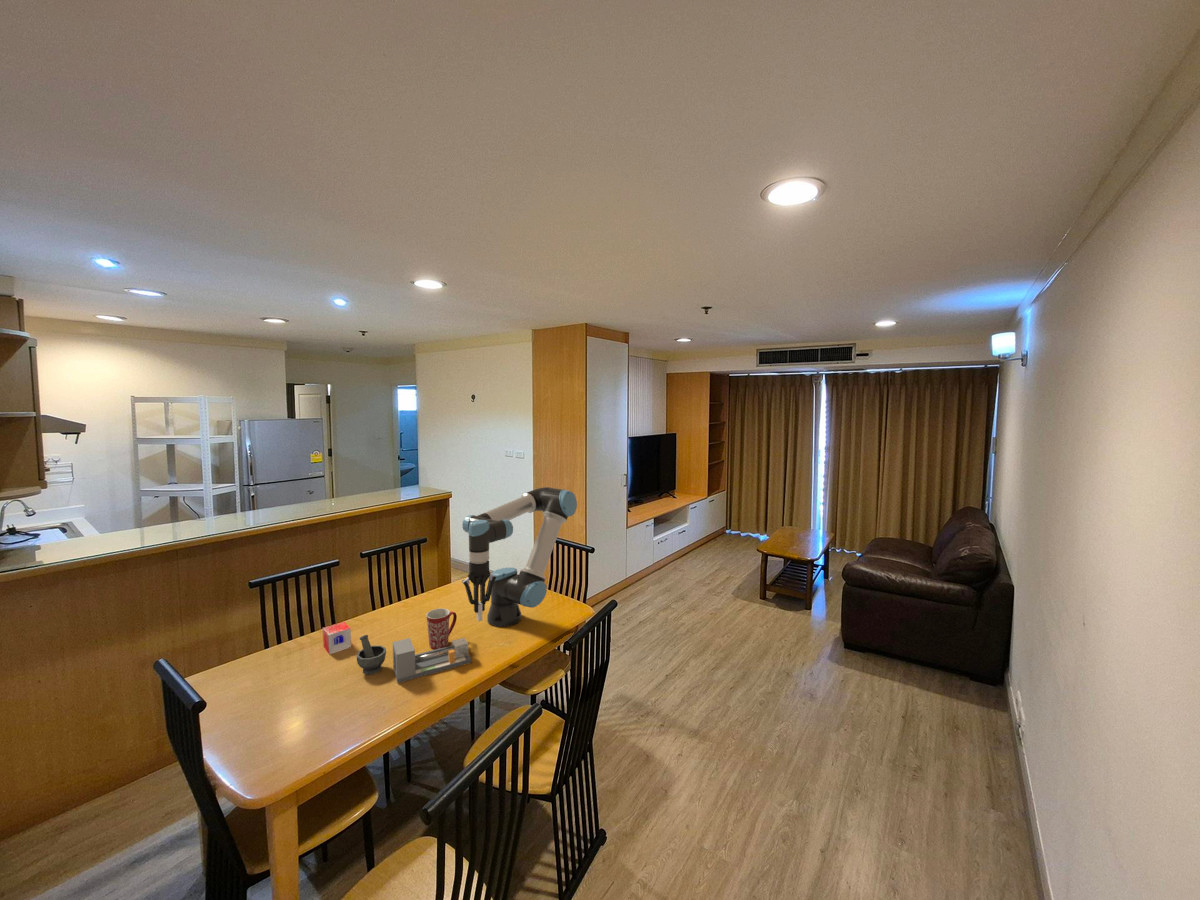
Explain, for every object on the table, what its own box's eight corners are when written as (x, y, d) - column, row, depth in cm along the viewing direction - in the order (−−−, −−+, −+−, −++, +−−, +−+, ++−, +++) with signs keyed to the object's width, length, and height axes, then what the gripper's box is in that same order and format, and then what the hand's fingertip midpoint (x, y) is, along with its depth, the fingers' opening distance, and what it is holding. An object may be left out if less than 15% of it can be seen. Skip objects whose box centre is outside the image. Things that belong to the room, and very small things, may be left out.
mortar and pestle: (391, 668, 173) (390, 637, 172) (366, 680, 166) (365, 648, 164) (375, 658, 180) (374, 628, 179) (350, 669, 172) (349, 638, 171)
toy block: (345, 640, 194) (344, 621, 193) (351, 647, 188) (350, 628, 187) (323, 646, 188) (322, 628, 187) (329, 654, 182) (328, 635, 182)
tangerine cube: (453, 659, 176) (453, 649, 176) (455, 661, 175) (454, 651, 174) (448, 660, 175) (448, 650, 175) (449, 663, 174) (449, 653, 173)
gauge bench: (464, 650, 186) (463, 625, 185) (471, 662, 178) (471, 636, 177) (393, 669, 173) (392, 642, 172) (397, 683, 164) (396, 654, 163)
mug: (434, 653, 184) (433, 620, 183) (422, 645, 190) (421, 613, 189) (462, 641, 194) (462, 610, 192) (450, 634, 199) (450, 603, 198)
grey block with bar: (464, 649, 184) (464, 637, 183) (469, 658, 178) (469, 645, 177) (411, 663, 174) (411, 650, 173) (415, 673, 168) (414, 659, 167)
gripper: (492, 555, 187) (492, 612, 190) (459, 560, 181) (460, 619, 183) (498, 560, 181) (498, 619, 183) (464, 566, 174) (465, 627, 176)
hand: (479, 619), depth 183 cm, fingers closed
